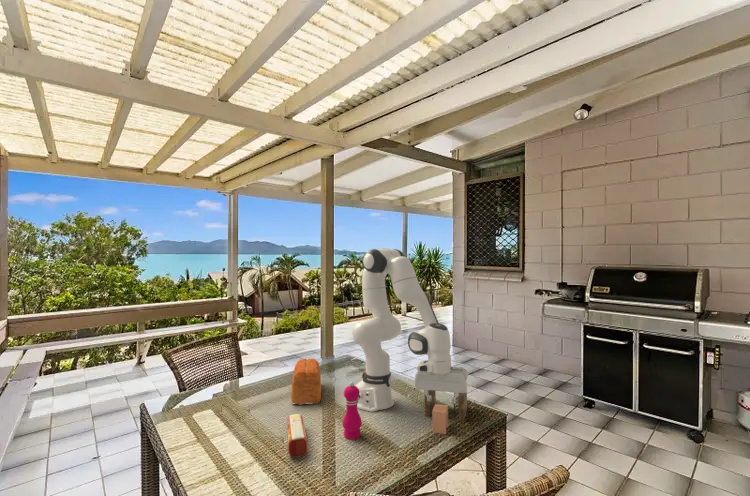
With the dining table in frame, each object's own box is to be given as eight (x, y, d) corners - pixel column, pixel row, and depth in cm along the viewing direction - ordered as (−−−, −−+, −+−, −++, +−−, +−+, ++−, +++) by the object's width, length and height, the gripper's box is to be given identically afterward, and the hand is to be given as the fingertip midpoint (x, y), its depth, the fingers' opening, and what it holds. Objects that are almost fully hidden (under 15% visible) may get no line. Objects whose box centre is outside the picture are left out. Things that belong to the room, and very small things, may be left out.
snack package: (286, 430, 137) (286, 412, 137) (303, 427, 139) (303, 410, 139) (288, 460, 116) (287, 439, 117) (308, 456, 118) (307, 436, 118)
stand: (425, 416, 146) (424, 383, 147) (431, 402, 160) (430, 372, 160) (464, 421, 141) (463, 387, 141) (467, 407, 154) (466, 376, 155)
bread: (320, 383, 187) (320, 355, 188) (321, 404, 161) (321, 371, 161) (294, 385, 185) (294, 357, 185) (290, 406, 158) (290, 373, 159)
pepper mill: (359, 440, 127) (358, 385, 128) (340, 439, 129) (339, 384, 129) (363, 431, 135) (362, 379, 135) (345, 429, 136) (345, 378, 137)
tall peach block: (432, 432, 133) (432, 411, 133) (435, 424, 139) (435, 404, 140) (445, 434, 131) (445, 412, 131) (448, 426, 138) (447, 405, 138)
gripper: (467, 365, 135) (469, 401, 135) (416, 362, 142) (417, 396, 141) (466, 370, 129) (468, 408, 129) (412, 366, 136) (414, 402, 136)
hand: (441, 402), depth 135 cm, fingers open, 8 cm apart
